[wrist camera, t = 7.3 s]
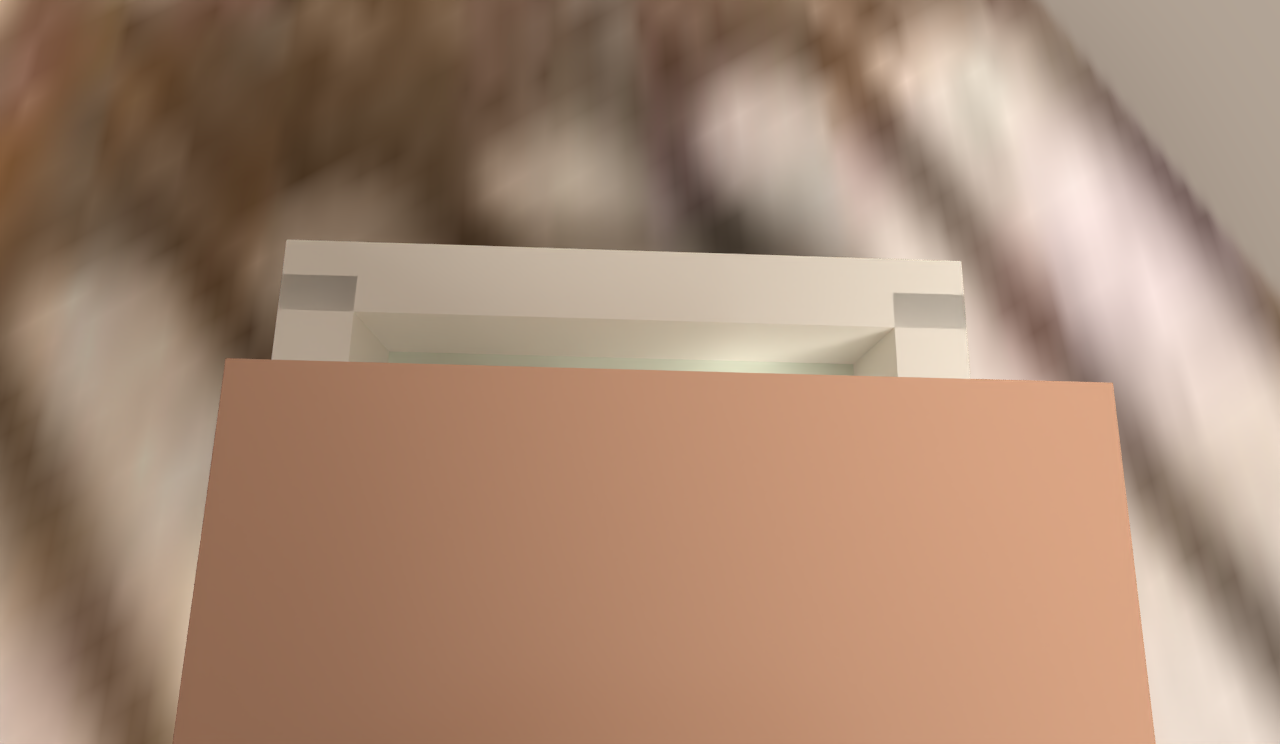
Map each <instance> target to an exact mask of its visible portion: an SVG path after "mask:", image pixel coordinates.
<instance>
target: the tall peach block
mask: <svg viewBox="0 0 1280 744" xmlns="http://www.w3.org/2000/svg"><path fill="white" fill-rule="evenodd" d="M173 744H1156V743H1155V735H1154V727H1153V718H1152V710H1151V701H1150V693H1149V684H1148V676H1147V668H1146V659H1145V651H1144V642H1143V634H1142V625H1141V617H1140V608H1139V600H1138V592H1137V583H1136V575H1135V566H1134V558H1133V549H1132V541H1131V533H1130V524H1129V516H1128V507H1127V499H1126V490H1125V482H1124V473H1123V465H1122V457H1121V448H1120V440H1119V431H1118V423H1117V414H1116V406H1115V398H1114V389H1113V383H1101V382H1065V381H1029V380H993V379H956V378H920V377H884V376H848V375H812V374H775V373H739V372H703V371H667V370H631V369H594V368H558V367H522V366H486V365H450V364H413V363H377V362H341V361H305V360H269V359H232V358H226V360H225V367H224V374H223V381H222V389H221V396H220V403H219V410H218V418H217V425H216V432H215V439H214V447H213V454H212V461H211V468H210V476H209V483H208V490H207V497H206V504H205V512H204V519H203V526H202V533H201V541H200V548H199V555H198V562H197V570H196V577H195V584H194V591H193V599H192V606H191V613H190V620H189V628H188V635H187V642H186V649H185V657H184V664H183V671H182V678H181V686H180V693H179V700H178V707H177V715H176V722H175V729H174V736H173Z"/></svg>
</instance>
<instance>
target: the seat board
mask: <svg viewBox="0 0 1280 744" xmlns="http://www.w3.org/2000/svg"><path fill="white" fill-rule="evenodd" d="M271 360H305V361H341V362H377V363H413V364H450V365H486V366H522V367H558V368H594V369H631V370H667V371H703V372H739V373H775V374H812V375H848V376H884V377H920V378H956V379H970V366H969V354H968V341H967V329H966V316H965V303H964V291H963V278H962V266H961V261H940V260H909V259H878V258H847V257H816V256H785V255H754V254H723V253H692V252H661V251H630V250H599V249H568V248H537V247H506V246H475V245H444V244H413V243H382V242H351V241H320V240H289V239H286V247H285V255H284V263H283V271H282V279H281V287H280V295H279V303H278V311H277V319H276V327H275V335H274V343H273V351H272V359H271Z"/></svg>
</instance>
